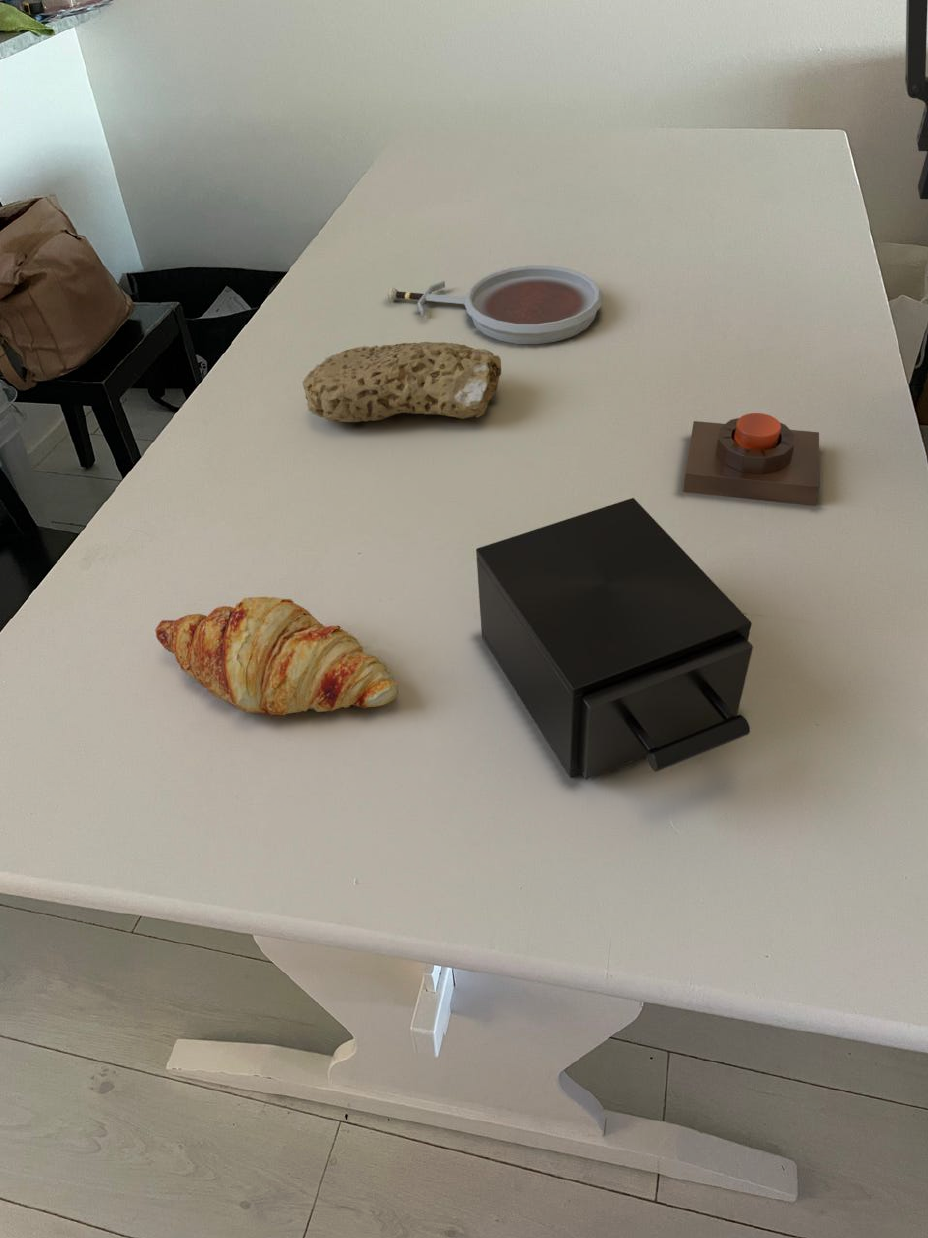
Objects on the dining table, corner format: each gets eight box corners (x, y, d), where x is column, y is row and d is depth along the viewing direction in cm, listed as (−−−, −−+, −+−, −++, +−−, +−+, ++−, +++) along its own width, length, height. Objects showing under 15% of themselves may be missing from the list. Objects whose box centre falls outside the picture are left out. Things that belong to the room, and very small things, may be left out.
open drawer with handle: (771, 762, 65) (792, 689, 59) (616, 827, 62) (623, 757, 56) (634, 597, 77) (641, 524, 72) (499, 645, 74) (495, 573, 69)
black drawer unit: (732, 713, 69) (752, 622, 62) (570, 778, 66) (573, 690, 59) (625, 586, 80) (633, 497, 73) (481, 637, 76) (475, 548, 70)
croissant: (416, 707, 76) (426, 615, 73) (368, 757, 67) (377, 654, 64) (190, 653, 81) (192, 565, 79) (117, 692, 72) (116, 595, 69)
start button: (778, 430, 88) (781, 414, 87) (777, 454, 86) (780, 438, 84) (735, 426, 89) (737, 410, 88) (732, 449, 87) (735, 434, 85)
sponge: (500, 391, 105) (334, 346, 107) (509, 337, 99) (332, 290, 100) (469, 474, 98) (292, 425, 100) (477, 423, 92) (287, 370, 93)
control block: (814, 450, 92) (823, 416, 89) (814, 506, 86) (823, 470, 83) (691, 439, 94) (695, 405, 92) (682, 492, 88) (687, 457, 86)
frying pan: (408, 254, 125) (615, 266, 117) (411, 275, 127) (614, 288, 119) (361, 313, 113) (586, 330, 106) (364, 335, 115) (585, 353, 108)
